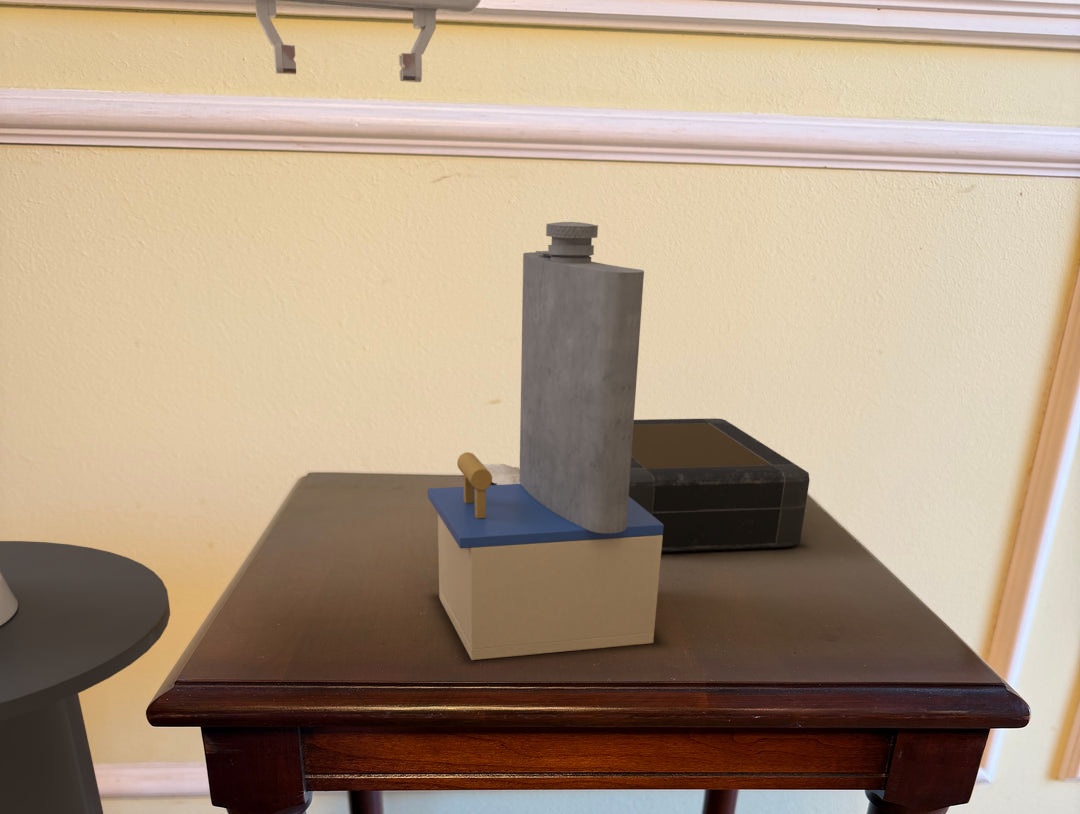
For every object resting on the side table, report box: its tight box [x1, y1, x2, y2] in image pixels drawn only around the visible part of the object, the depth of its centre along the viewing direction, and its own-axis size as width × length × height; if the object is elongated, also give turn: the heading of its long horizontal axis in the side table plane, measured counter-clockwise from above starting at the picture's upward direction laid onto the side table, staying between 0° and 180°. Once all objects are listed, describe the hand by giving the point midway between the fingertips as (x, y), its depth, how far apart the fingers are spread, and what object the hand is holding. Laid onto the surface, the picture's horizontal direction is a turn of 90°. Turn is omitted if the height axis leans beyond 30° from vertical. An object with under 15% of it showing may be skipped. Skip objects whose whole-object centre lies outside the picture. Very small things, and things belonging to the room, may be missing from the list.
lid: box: [427, 452, 664, 548], centre depth 79 cm, size 16×13×5 cm
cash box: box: [629, 418, 811, 554], centre depth 109 cm, size 25×20×8 cm
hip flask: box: [519, 221, 645, 534], centre depth 76 cm, size 16×4×20 cm, turn 23°
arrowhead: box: [482, 463, 521, 485], centre depth 121 cm, size 7×2×10 cm
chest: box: [437, 513, 663, 661], centre depth 83 cm, size 15×13×9 cm
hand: (349, 77), depth 78 cm, fingers open, 8 cm apart
